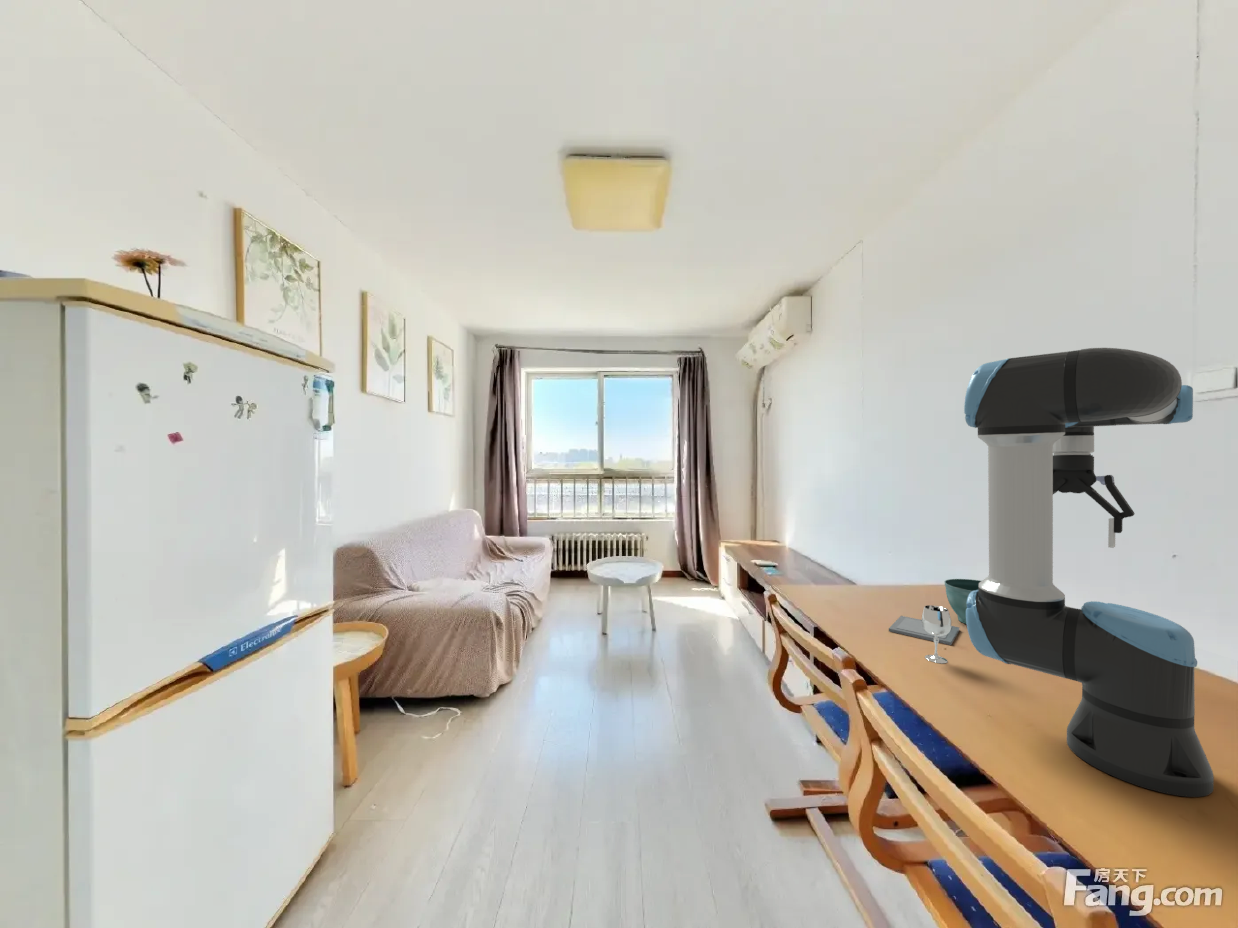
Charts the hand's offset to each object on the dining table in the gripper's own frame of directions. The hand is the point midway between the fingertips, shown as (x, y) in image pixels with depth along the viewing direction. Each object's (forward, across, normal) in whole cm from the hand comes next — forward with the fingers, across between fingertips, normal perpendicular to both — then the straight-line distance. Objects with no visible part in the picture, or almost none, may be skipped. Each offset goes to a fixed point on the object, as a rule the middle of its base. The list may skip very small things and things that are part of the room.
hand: (1070, 542), depth 112 cm
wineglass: (+27, +18, +29) cm, 44 cm away
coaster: (+27, +27, +11) cm, 40 cm away
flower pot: (+27, +20, -8) cm, 35 cm away
